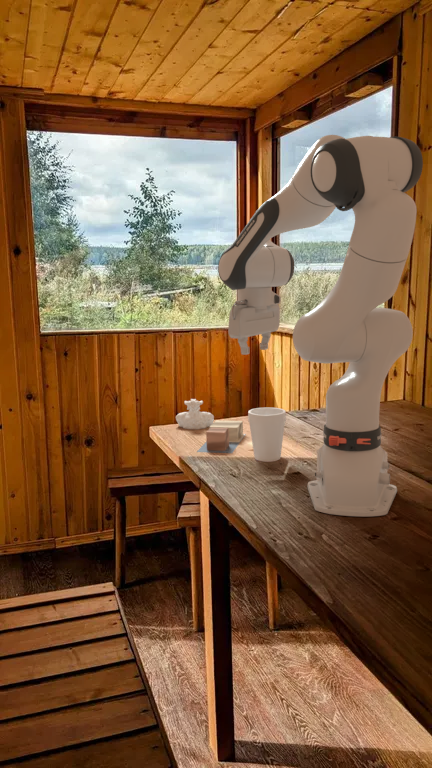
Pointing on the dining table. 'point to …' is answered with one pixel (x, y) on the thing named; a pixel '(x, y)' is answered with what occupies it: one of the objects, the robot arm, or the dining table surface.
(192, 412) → the white figurine
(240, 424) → the birch slab
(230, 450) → the board
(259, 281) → the robot arm
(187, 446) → the dining table surface
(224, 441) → the terracotta block
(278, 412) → the foam cup
